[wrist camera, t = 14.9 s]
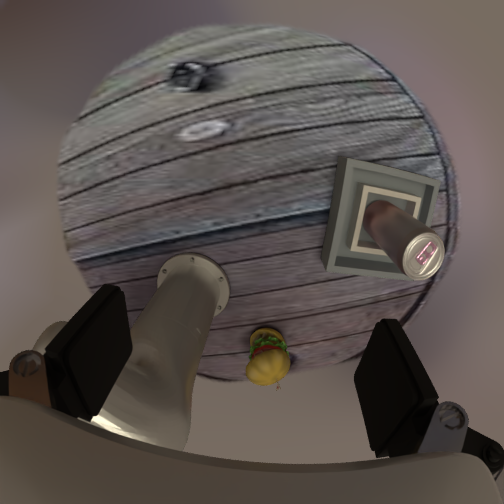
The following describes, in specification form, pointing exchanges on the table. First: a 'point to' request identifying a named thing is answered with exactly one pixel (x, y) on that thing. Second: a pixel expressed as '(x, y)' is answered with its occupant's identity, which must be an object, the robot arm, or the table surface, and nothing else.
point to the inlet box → (354, 206)
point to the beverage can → (404, 239)
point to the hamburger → (267, 357)
